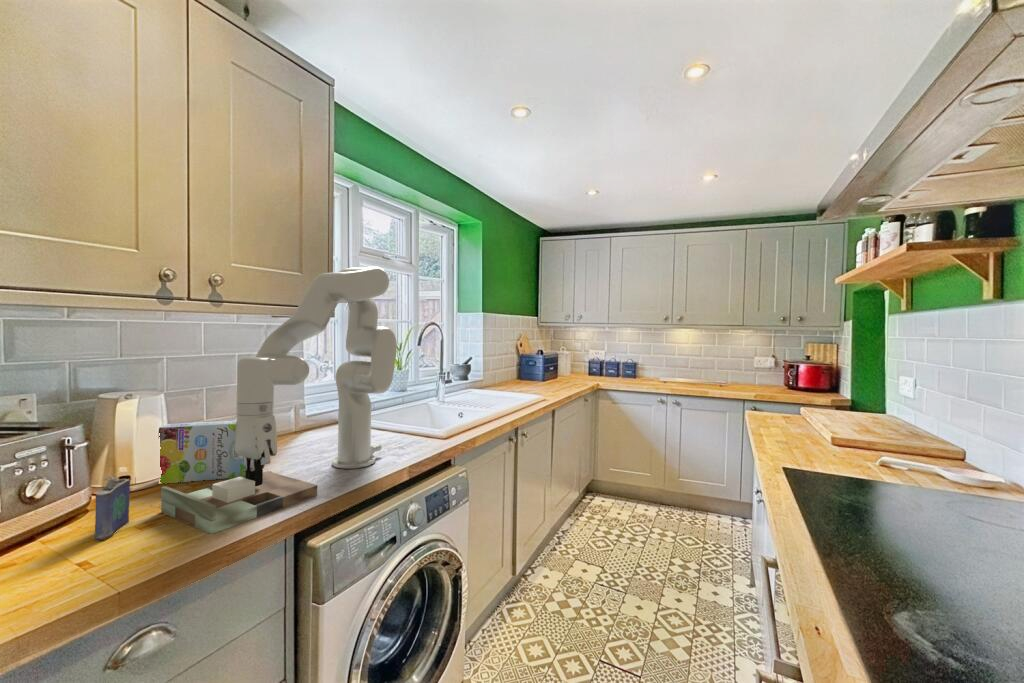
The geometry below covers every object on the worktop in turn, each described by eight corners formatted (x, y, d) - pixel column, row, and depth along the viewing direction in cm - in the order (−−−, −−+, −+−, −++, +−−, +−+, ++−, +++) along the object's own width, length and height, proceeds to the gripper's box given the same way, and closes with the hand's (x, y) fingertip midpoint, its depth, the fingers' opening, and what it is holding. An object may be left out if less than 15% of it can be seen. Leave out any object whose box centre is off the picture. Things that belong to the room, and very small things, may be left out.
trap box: (267, 480, 115) (268, 460, 115) (317, 495, 105) (317, 473, 105) (161, 512, 94) (161, 487, 94) (211, 534, 84) (211, 506, 84)
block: (239, 489, 101) (239, 476, 101) (254, 494, 99) (255, 481, 99) (212, 497, 96) (212, 484, 96) (227, 502, 93) (227, 489, 93)
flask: (108, 540, 81) (108, 484, 81) (88, 542, 80) (88, 485, 80) (132, 520, 90) (132, 469, 89) (114, 521, 89) (115, 470, 88)
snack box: (255, 471, 122) (256, 418, 122) (251, 477, 117) (252, 422, 117) (165, 478, 114) (165, 422, 114) (156, 485, 109) (157, 427, 109)
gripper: (290, 410, 101) (288, 487, 101) (252, 403, 108) (251, 475, 108) (258, 415, 94) (257, 497, 95) (220, 407, 101) (219, 484, 102)
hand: (253, 485), depth 101 cm, fingers closed
